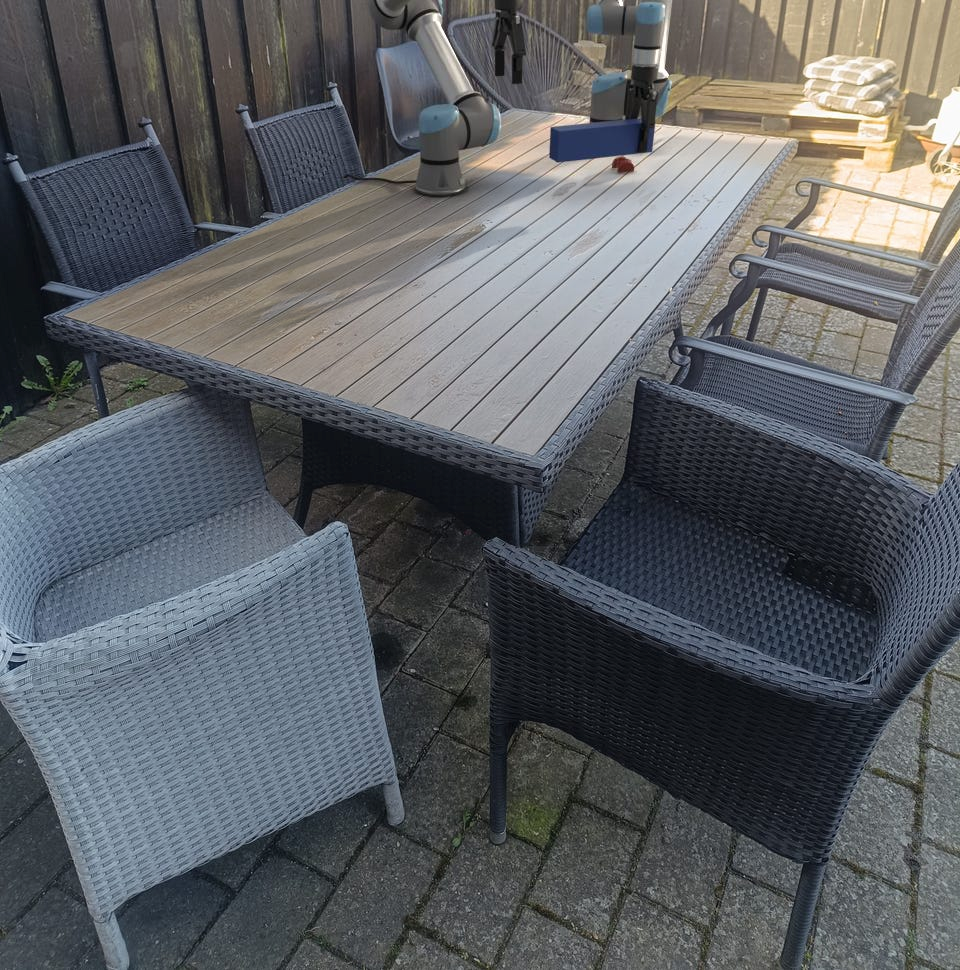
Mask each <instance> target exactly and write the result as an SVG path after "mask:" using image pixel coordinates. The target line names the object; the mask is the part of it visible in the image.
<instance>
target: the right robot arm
mask: <svg viewBox="0 0 960 970" xmlns="http://www.w3.org/2000/svg"><path fill="white" fill-rule="evenodd" d="M624 3H625V0H597V4H592V5H589V7H588V9H587V16H586V31H587V33H588V34H589V35H598V36H630V37H631V36H632V37H634V44H633V50H632V51H633V52H632V60H631V61H632V66H631V71H630V72H631V73H630V78H628V74H626V73H621V72H616V73H615V72H614V73H607V74H602V75H599V76H597V77H595V78H594V79H593V81H592V86H591V91H590V94H591V96H590V97H591V98H590V108H589V109H590V111H589V122H588V123H596V122H606V121H616V120H627V119H637V118H641V119H642V128H640V133H639V143H638V153H640V154H642V153H641V152H647V144H648V138H649V130H650V129H651V128H654V127H655V128H656V118H660V117H661V118H662V116H664V115H665V112H666V108H667V105H668V101H669V97H670V93H671V88H672V84H673V83H672V80H670V79H669V73H668V72H667V71H666V69H665V66H666V59H667V52H668V51H667V49H668V42H669V41H668V40H669V32H670V24H671V17H672V16H671V15H672V6H673V0H645V1H643V2H640V3H639V4H638V5H624Z"/></svg>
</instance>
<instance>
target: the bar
mask: <svg viewBox="0 0 960 970" xmlns="http://www.w3.org/2000/svg"><path fill="white" fill-rule="evenodd" d="M640 128H642V119H641V117H638V118H637V119H627V120H625V119H623V120H616V121H606V122H596V123H589V122H588V123H587V122H586V123H576V124H568V125H567V124H566V125H556V126H550V128H549V129H550V132H549V153H548V158H549V159H550V160H552V161H554V162H555V163H558V164H559V163H567V162H576V161H577V162H578V161H586V160H595V159H603V158H611V157H620V156H630V155H639V154H647V153H653V149H654V148H653V146H654V139H655V131H656V126H655V127H654V128H651V129H650V130H649V138H648V144H647V152H641V153H638V143H639V133H640Z"/></svg>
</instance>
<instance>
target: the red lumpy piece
mask: <svg viewBox="0 0 960 970" xmlns="http://www.w3.org/2000/svg"><path fill="white" fill-rule="evenodd" d="M611 169H616V172H617V174H620V173H621V174H622V173H634V172H635V165H634V163H633V160H631V159H630V158H627V157H626V156H624V155H622V156H616V157H615V158H613V160H612V163H611Z"/></svg>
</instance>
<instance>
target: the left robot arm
mask: <svg viewBox="0 0 960 970" xmlns="http://www.w3.org/2000/svg"><path fill="white" fill-rule="evenodd" d="M523 1H524V0H494V9H495V10H496V11H495V16H494V17H495V19H494V26H493V32H492V38H491V39H492V40H491V47H492V48H493V51H494V77H505V74H506V73H505V67H506V65H505V62H506V61H505V57H506V56H505V55H506V54H505V51H506V45H505V44H506V41H507V38H508V39H509V43H510V48H511V50H512V55H511V84H512V85H522V84H523V58H524V57H525V56H526V55H527V48H526V43H525V35H524V28H523V16H522V15H521V14H520V15H518V13H517V11H520V10H522V9H523ZM368 11H369V15H370V17H371V19H372V20H373V22H375V24H376V25H378V27H380V28H383V29H385V30H388V31H397V30H398V31H399V30H404V31H405V33H406V34H407V36H408V38H409V39H410V40H411V41H412V42H416V43H417V45H418V47H419V49H420V51H421V53H422V56H423V57H424V59H425V61H426V63H427V64H428V67H429V69H430V71H431V73H432V75H433V77H434V78H435V81H436V83H437V85H438V86H439V89H440V90H441V92H442V94H443V96H444V98H445V100H446V102H447V103H442V104H434V105H431V106H428V107H426V108H424V109H422V110H421V111H420V113H419V116H418V126H417V127H418V132H419V133H418V134H419V135H418V136H419V157H420V158H419V159H420V161H419V162H420V164H419V168H418V172H417V176H416V179H415V180H414V179H413V180H392V179H388V178H382V177H359V176H355V175H353V174H350V173H347V174H345V175H344V176H343V177H342V179H346V178H351V179H354V180H356V181H378V182H379V181H380V182H386V183H390V184H396V185H397V184H398V185H402V184H415V185H414V186H415V192H417V193H418V194H420V195H424V196H430V197H450V196H455V195H459V194H461V193H463V192H464V191H466V177H465V176H463V172H462V169H461V165H460V151H464V150H469V149H476V148H480V147H481V148H483V147H485V146H488V145H492V144H494V143H495V142H496V141H497V140H498V138H499V136H500V134H501V127H502V126H501V125H502V118H501V114H500V110H499V108H498V107H497V105H496V104H495V103H492V102H486V100H485V98H484V97H483V95H482V94H481V92H479V91H475V90H474V88H473V87H472V85H471V83H470V81H469V79H468V77H467V75H466V73H465V71H464V69H463V67H462V65H461V63H460V61H459V59H458V57H457V55H456V53H455V51H454V49H453V47H452V45H451V43H450V42H449V39H448V37H447V36H446V34H445V32H444V30H443V27H442V25H443V16H444V7H443V0H368Z"/></svg>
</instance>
